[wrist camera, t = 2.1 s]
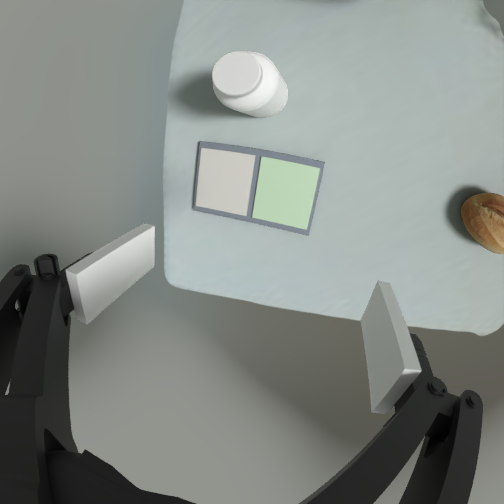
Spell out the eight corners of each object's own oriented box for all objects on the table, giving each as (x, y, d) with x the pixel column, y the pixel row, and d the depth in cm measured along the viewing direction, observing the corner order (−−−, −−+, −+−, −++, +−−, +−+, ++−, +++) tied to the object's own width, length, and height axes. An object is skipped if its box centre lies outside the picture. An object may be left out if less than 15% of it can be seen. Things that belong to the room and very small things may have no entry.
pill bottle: (294, 76, 34) (280, 46, 21) (281, 123, 38) (261, 116, 25) (245, 67, 35) (208, 37, 22) (233, 112, 39) (191, 102, 26)
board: (201, 141, 42) (199, 141, 41) (324, 162, 39) (324, 162, 38) (195, 209, 47) (192, 210, 46) (308, 233, 44) (308, 236, 43)
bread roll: (466, 176, 33) (490, 185, 26) (516, 207, 31) (539, 220, 24) (449, 227, 37) (469, 245, 30) (499, 252, 35) (520, 270, 28)
